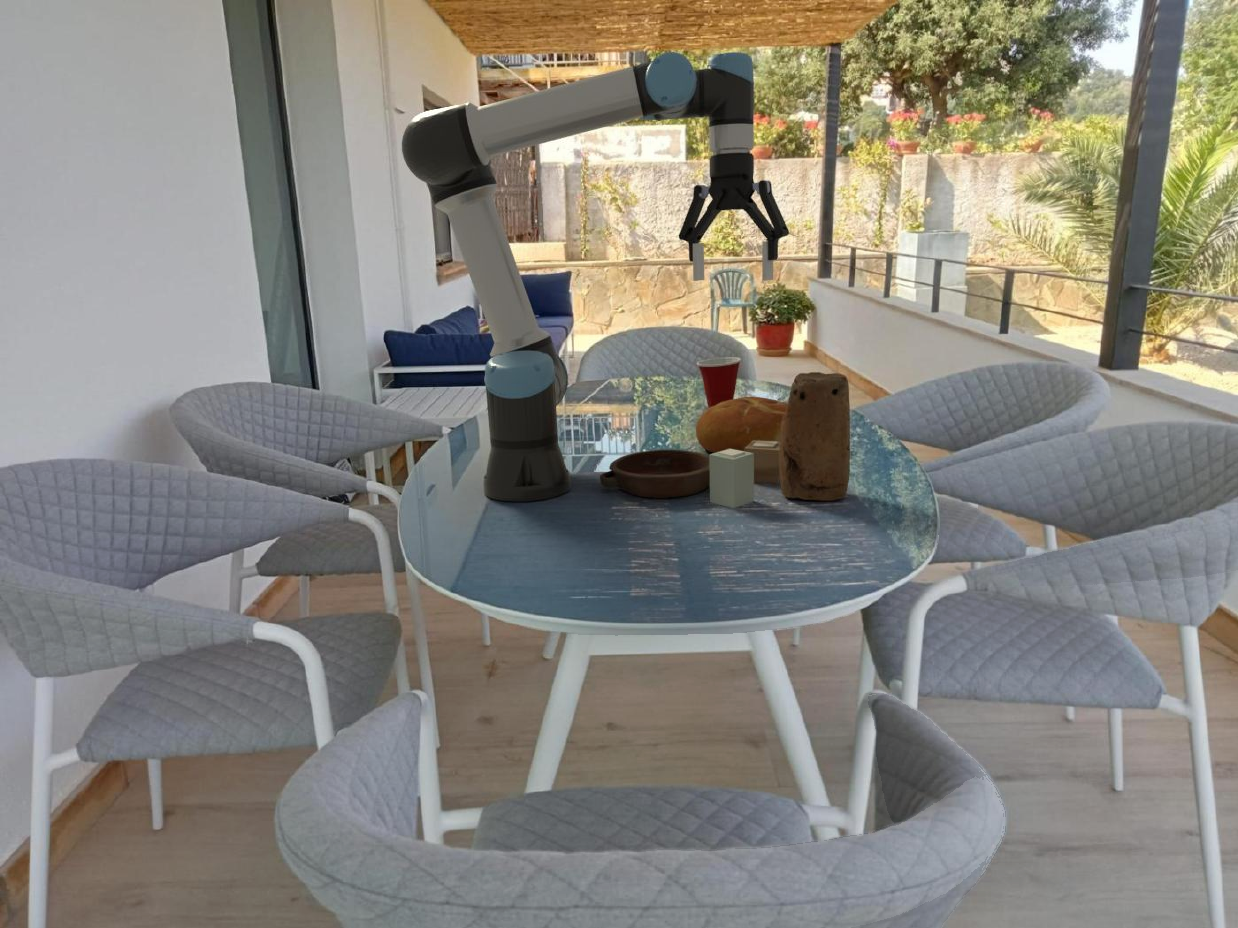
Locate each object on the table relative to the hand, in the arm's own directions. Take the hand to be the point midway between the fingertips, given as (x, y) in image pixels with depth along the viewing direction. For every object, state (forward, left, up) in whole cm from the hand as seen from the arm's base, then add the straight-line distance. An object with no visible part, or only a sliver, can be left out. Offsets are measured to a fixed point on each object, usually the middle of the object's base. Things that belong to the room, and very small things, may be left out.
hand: (732, 280), depth 154 cm
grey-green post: (-20, -11, -34) cm, 41 cm away
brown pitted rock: (-11, -21, -34) cm, 41 cm away
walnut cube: (-5, -9, -34) cm, 35 cm away
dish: (-19, +3, -34) cm, 39 cm away
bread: (+13, +3, -34) cm, 37 cm away
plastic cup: (+44, +30, -34) cm, 63 cm away
